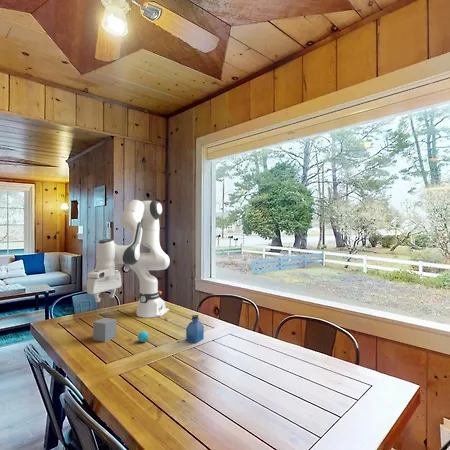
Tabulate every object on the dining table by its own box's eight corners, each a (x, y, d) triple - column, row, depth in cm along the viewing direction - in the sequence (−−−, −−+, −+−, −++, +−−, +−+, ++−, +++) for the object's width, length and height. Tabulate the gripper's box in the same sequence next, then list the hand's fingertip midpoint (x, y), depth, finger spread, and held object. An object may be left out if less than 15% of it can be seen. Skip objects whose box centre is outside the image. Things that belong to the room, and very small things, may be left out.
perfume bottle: (186, 340, 150) (186, 316, 150) (193, 336, 155) (193, 313, 155) (196, 343, 147) (197, 318, 147) (203, 339, 152) (203, 315, 152)
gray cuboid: (104, 334, 156) (104, 317, 156) (116, 336, 153) (116, 319, 153) (93, 339, 149) (93, 321, 149) (105, 342, 146) (105, 323, 146)
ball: (142, 339, 151) (142, 328, 151) (150, 340, 149) (150, 330, 149) (135, 342, 146) (135, 332, 146) (144, 344, 144) (144, 333, 144)
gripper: (115, 268, 162) (114, 294, 162) (84, 274, 143) (84, 303, 143) (124, 269, 160) (124, 296, 160) (94, 275, 141) (94, 305, 141)
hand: (105, 299), depth 151 cm, fingers open, 8 cm apart
